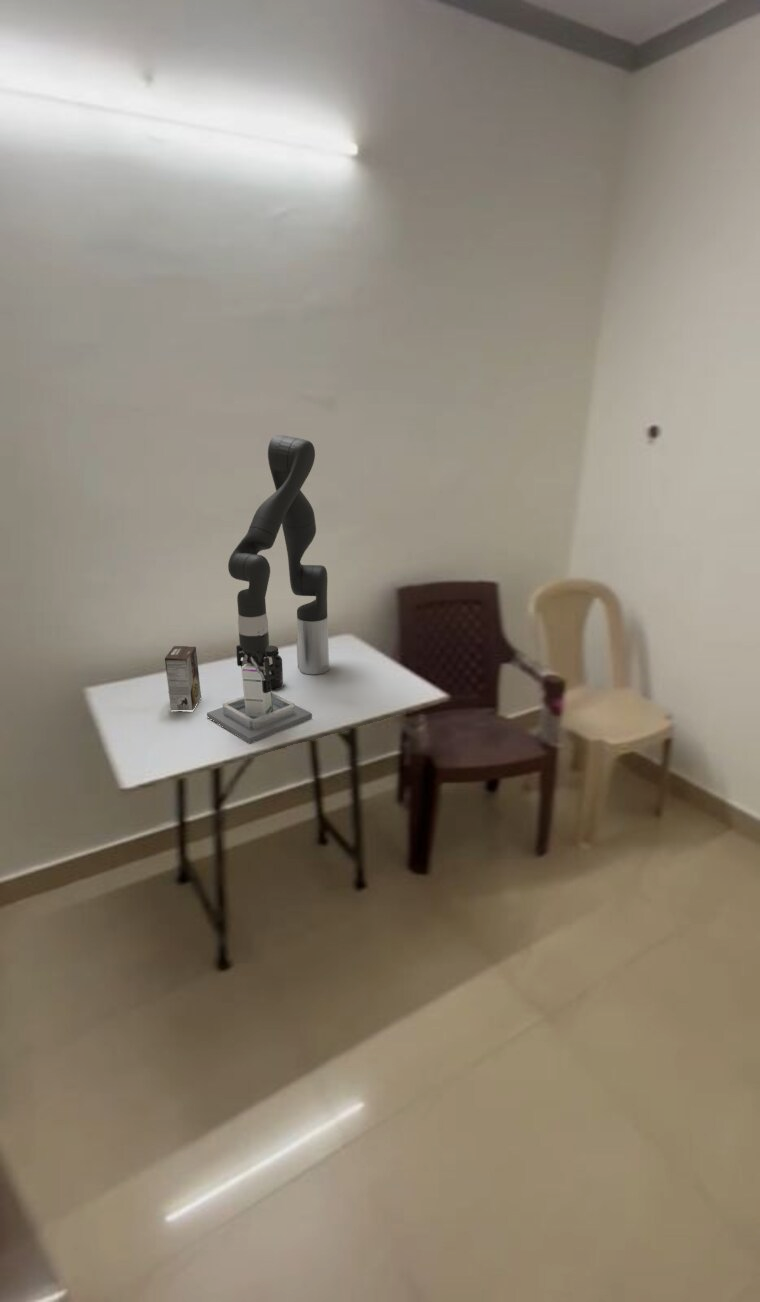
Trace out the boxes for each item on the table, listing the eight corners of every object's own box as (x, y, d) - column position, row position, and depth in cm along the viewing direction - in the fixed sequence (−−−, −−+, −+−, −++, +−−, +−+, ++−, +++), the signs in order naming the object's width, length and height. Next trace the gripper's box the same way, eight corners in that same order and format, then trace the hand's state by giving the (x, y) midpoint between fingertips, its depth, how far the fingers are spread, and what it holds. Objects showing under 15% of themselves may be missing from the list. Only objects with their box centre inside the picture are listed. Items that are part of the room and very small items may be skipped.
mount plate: (207, 717, 196) (206, 712, 196) (268, 695, 209) (267, 691, 208) (250, 743, 183) (249, 738, 182) (312, 718, 196) (311, 713, 195)
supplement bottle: (256, 688, 214) (253, 650, 209) (267, 679, 220) (264, 642, 215) (276, 692, 211) (274, 653, 207) (287, 683, 217) (285, 645, 213)
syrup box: (265, 718, 192) (262, 667, 187) (244, 716, 193) (240, 666, 188) (273, 709, 197) (270, 659, 192) (252, 707, 199) (249, 658, 193)
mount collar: (221, 712, 195) (220, 704, 195) (265, 696, 205) (265, 688, 204) (252, 730, 186) (251, 722, 185) (297, 713, 195) (296, 704, 194)
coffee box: (179, 698, 208) (173, 645, 202) (202, 698, 208) (196, 645, 202) (170, 712, 199) (163, 657, 193) (193, 712, 199) (187, 658, 193)
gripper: (225, 626, 189) (230, 683, 195) (257, 640, 179) (261, 699, 185) (249, 619, 194) (253, 675, 200) (282, 633, 184) (285, 691, 190)
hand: (257, 687), depth 193 cm, fingers open, 8 cm apart
